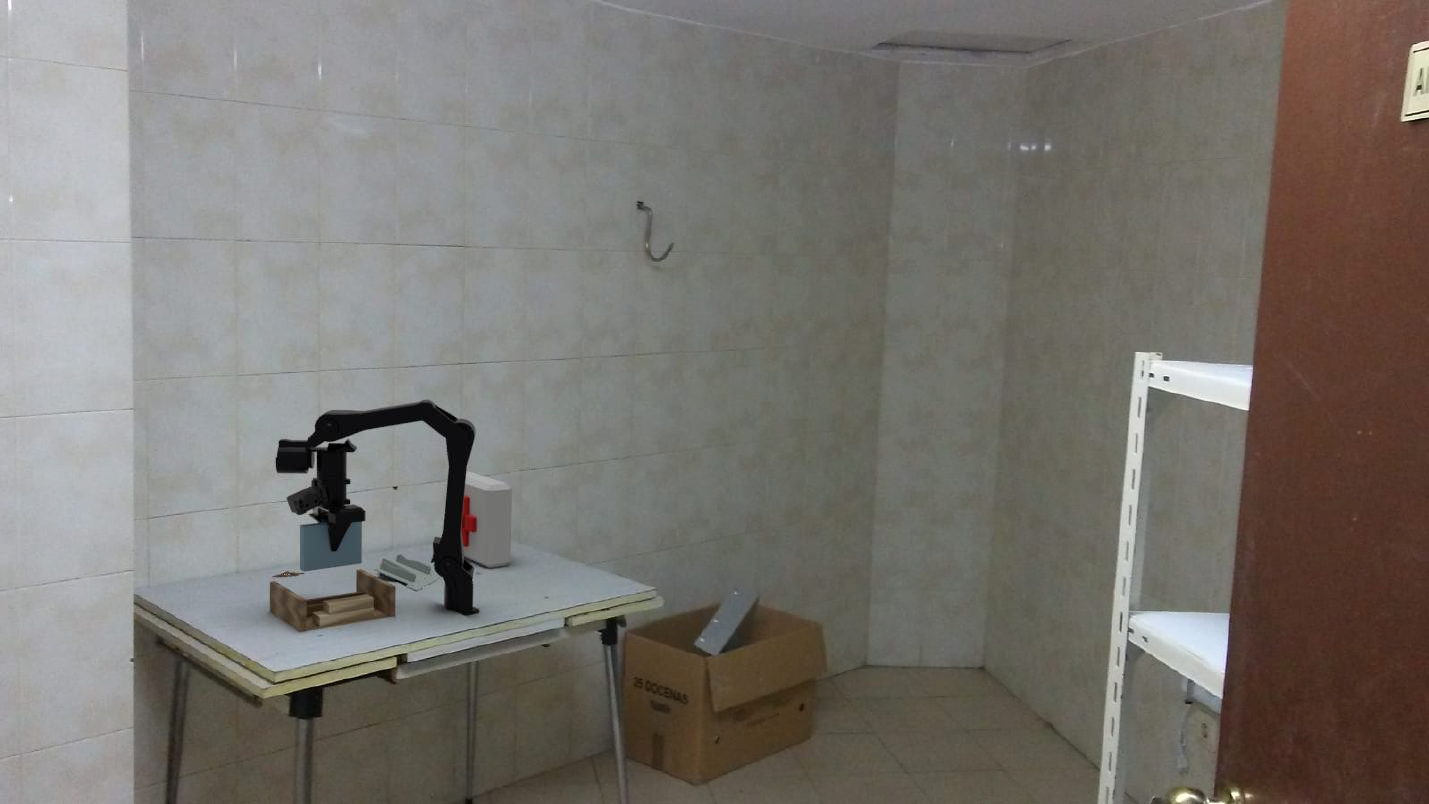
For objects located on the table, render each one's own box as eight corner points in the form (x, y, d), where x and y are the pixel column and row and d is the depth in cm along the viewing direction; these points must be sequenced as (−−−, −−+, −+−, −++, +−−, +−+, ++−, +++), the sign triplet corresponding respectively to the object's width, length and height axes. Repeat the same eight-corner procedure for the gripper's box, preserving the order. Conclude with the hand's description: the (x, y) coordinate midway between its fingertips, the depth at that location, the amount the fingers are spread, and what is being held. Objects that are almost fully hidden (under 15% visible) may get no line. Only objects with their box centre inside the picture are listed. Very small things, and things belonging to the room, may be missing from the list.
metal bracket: (366, 561, 257) (399, 547, 271) (359, 586, 258) (393, 570, 272) (424, 585, 254) (454, 569, 269) (416, 610, 255) (447, 592, 270)
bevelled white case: (440, 552, 291) (442, 472, 289) (469, 548, 296) (471, 470, 294) (482, 570, 275) (484, 486, 273) (512, 566, 280) (514, 483, 278)
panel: (361, 563, 239) (361, 520, 238) (304, 571, 231) (304, 526, 230) (357, 561, 241) (357, 518, 240) (300, 569, 233) (300, 525, 232)
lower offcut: (374, 617, 231) (374, 608, 231) (319, 627, 224) (319, 616, 224) (366, 613, 234) (366, 603, 234) (312, 622, 227) (312, 612, 227)
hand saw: (230, 602, 243) (230, 599, 243) (212, 599, 244) (212, 596, 244) (305, 575, 266) (305, 572, 266) (289, 573, 267) (289, 570, 267)
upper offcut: (373, 607, 231) (373, 597, 231) (329, 614, 225) (329, 604, 225) (367, 604, 234) (367, 594, 233) (323, 611, 228) (323, 601, 227)
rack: (395, 620, 233) (395, 586, 233) (301, 636, 221) (301, 600, 220) (360, 601, 245) (361, 569, 245) (269, 616, 233) (269, 581, 232)
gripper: (273, 470, 236) (273, 546, 237) (311, 484, 222) (311, 565, 223) (327, 465, 243) (326, 539, 245) (366, 479, 229) (366, 557, 231)
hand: (331, 550), depth 236 cm, fingers closed on panel, 2 cm apart
